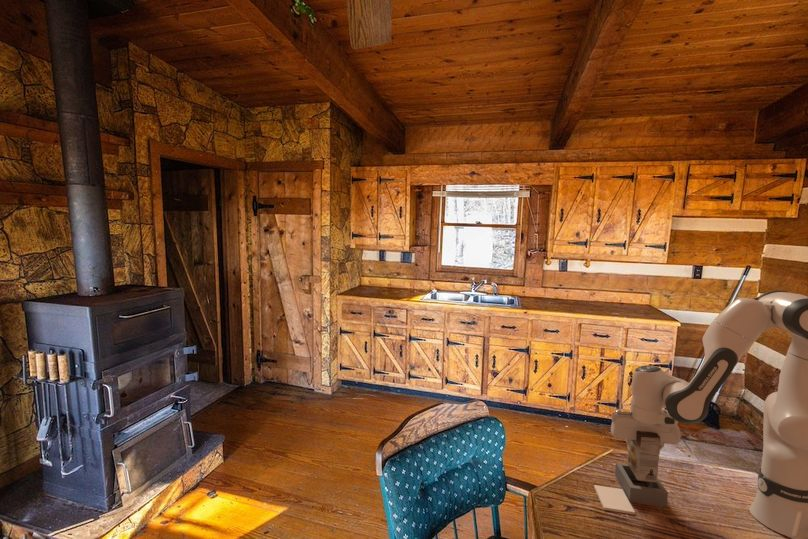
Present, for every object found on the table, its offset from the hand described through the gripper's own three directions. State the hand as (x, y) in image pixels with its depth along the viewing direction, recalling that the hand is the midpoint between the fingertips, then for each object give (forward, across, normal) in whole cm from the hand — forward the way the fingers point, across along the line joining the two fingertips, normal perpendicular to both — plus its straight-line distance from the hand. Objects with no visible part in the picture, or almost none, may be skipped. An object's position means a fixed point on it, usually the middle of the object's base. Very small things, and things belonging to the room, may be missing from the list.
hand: (643, 452), depth 127 cm
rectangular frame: (+14, 0, 0) cm, 14 cm away
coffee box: (+8, 0, 0) cm, 8 cm away
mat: (+14, -11, -7) cm, 19 cm away
